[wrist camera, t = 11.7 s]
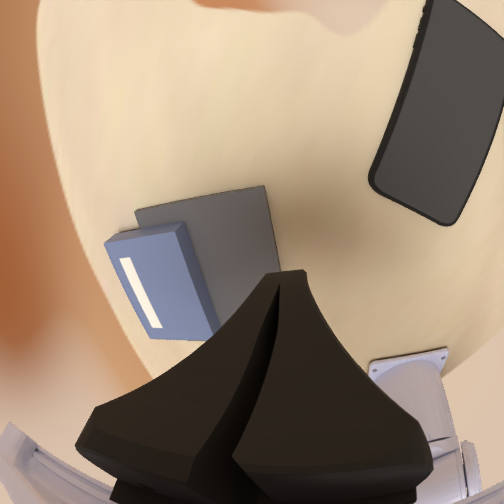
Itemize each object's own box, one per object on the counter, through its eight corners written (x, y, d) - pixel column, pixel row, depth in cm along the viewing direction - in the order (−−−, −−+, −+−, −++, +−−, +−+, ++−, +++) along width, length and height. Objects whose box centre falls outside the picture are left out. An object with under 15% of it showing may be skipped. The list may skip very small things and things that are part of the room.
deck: (215, 340, 20) (150, 338, 22) (220, 326, 22) (157, 326, 23) (174, 231, 16) (103, 243, 18) (184, 220, 18) (115, 233, 19)
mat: (292, 335, 22) (291, 338, 21) (189, 337, 24) (187, 340, 23) (264, 185, 16) (263, 187, 16) (137, 209, 18) (134, 212, 18)
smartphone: (362, 188, 15) (431, -17, 7) (359, 184, 16) (426, -13, 8) (453, 233, 15) (517, 50, 7) (447, 227, 16) (510, 50, 8)
